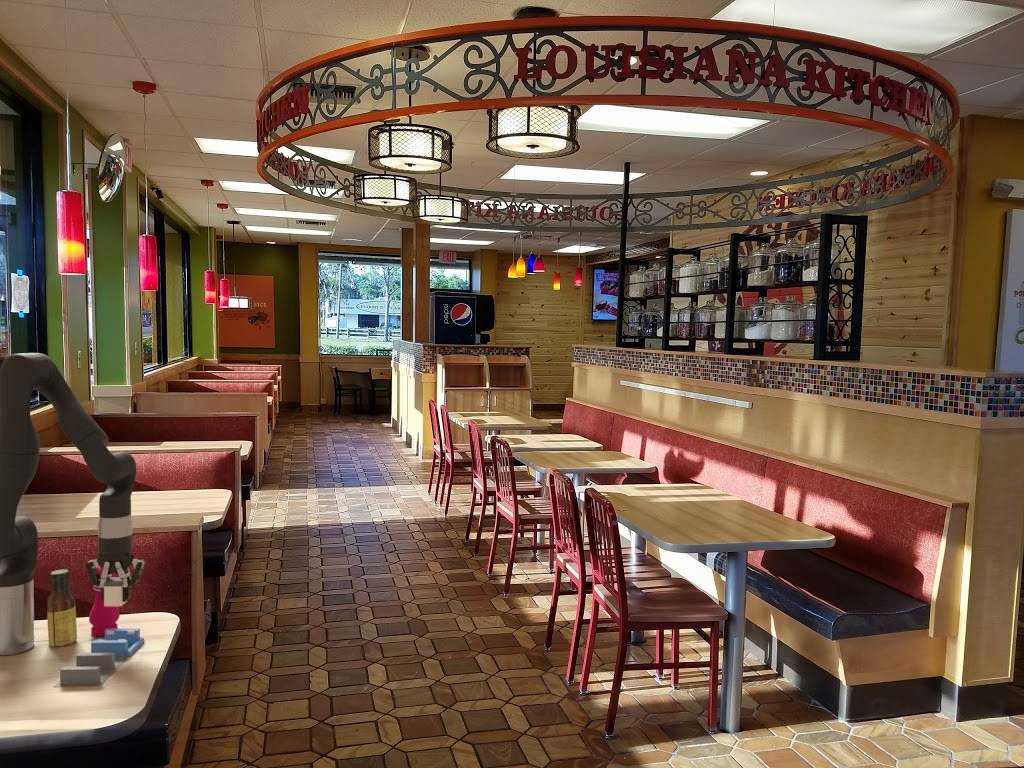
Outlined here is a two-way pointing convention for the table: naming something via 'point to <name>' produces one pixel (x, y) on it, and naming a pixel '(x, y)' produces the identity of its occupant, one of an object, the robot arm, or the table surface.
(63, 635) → the sauce bottle
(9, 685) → the table surface
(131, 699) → the table surface
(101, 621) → the pepper mill
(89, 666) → the grey fixture board
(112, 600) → the grey block
